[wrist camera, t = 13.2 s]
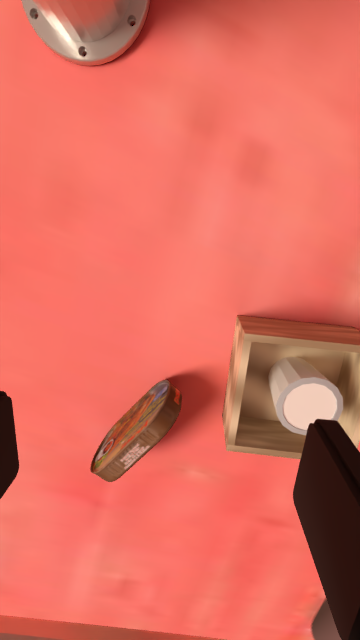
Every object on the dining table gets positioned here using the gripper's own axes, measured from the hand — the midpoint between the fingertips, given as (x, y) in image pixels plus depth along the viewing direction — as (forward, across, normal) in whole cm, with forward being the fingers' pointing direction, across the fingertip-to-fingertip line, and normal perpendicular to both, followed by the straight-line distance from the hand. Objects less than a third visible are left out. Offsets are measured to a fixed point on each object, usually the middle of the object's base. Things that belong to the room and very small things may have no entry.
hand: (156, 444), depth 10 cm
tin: (+29, +5, +19) cm, 35 cm away
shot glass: (+28, -14, +11) cm, 33 cm away
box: (+29, -14, +11) cm, 34 cm away
